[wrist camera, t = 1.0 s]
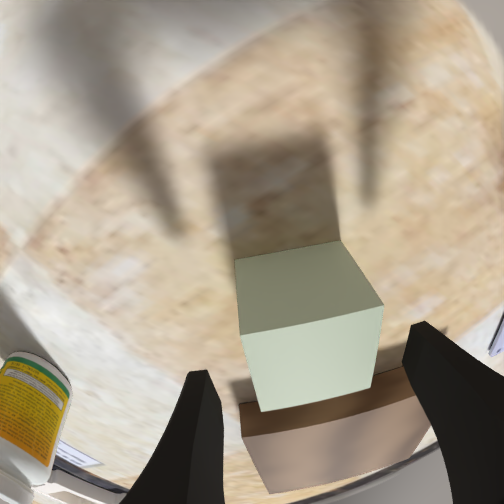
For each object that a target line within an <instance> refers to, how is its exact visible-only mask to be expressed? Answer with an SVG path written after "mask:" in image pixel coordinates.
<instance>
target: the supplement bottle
mask: <svg viewBox="0 0 504 504" xmlns="http://www.w3.org/2000/svg"><path fill="white" fill-rule="evenodd" d="M72 397H73V393H72V389H71V386H70V384H69V382H68V381H67V379H66V378H65V377H64V376H63V375H62V374H61V373H60V372H59V370H57V369H56V368H55V367H54V366H53V365H52V364H50V363H49V362H47V361H46V360H44V359H43V358H41V357H38V356H36V355H34V354H31V353H27V352H14V353H12V354H10V355H9V356H8V357H7V359H6V361H5V362H4V364H3V366H2V368H1V369H0V498H1V499H3V500H4V501H6V502H8V503H10V504H32V502H33V499H34V492H33V490H32V489H31V485H41V484H44V483H46V482H47V481H48V479H49V477H50V474H51V470H52V466H53V462H54V458H55V455H56V451H57V447H58V443H59V440H60V436H61V433H62V429H63V426H64V423H65V420H66V417H67V414H68V411H69V408H70V405H71V401H72Z"/></svg>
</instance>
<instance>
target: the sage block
mask: <svg viewBox="0 0 504 504" xmlns="http://www.w3.org/2000/svg"><path fill="white" fill-rule="evenodd" d="M235 275H236V289H237V303H238V317H239V330H240V338H241V341H242V345H243V349H244V352H245V356H246V360H247V363H248V367H249V371H250V374H251V378H252V381H253V385H254V388H255V392H256V396H257V399H258V402H259V406H260V409H261V412H264V411H271V410H276V409H282V408H288V407H293V406H298V405H303V404H308V403H312V402H317V401H321V400H326V399H330V398H334V397H338V396H342V395H346V394H350V393H353V392H357V391H361V390H364V389H368V388H370V387H371V382H372V377H373V372H374V367H375V361H376V356H377V350H378V344H379V338H380V332H381V325H382V318H383V311H384V304H383V302H382V301H381V299H380V298H379V296H378V295H377V293H376V292H375V290H374V289H373V287H372V286H371V284H370V283H369V281H368V280H367V278H366V277H365V275H364V274H363V272H362V271H361V269H360V268H359V266H358V265H357V263H356V262H355V260H354V259H353V257H352V256H351V255H350V253H349V252H348V250H347V249H346V247H345V246H344V245H343V243H342V242H341V240H340V241H334V242H329V243H323V244H318V245H313V246H307V247H302V248H296V249H291V250H285V251H280V252H274V253H269V254H264V255H258V256H253V257H247V258H242V259H236V260H235Z"/></svg>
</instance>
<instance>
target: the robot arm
mask: <svg viewBox="0 0 504 504" xmlns="http://www.w3.org/2000/svg"><path fill="white" fill-rule="evenodd" d="M502 351H504V319H503V322H502V324H501V326H500V329H499V331H498V333H497V336H496V338H495V340H494V342H493V344H492V347H491V349H490V351H489V355H490V357H493V356H495V355H497V354H499V353H501V352H502ZM402 364H403V366H404V369H405V372H406V375H407V377H408V380H409V382H410V385H411V387H412V389H413V391H414V393H415V395H416V396H417V398H418V400H419V402H420V404H421V406H422V408H423V410H424V412H425V414H426V416H427V418H428V420H429V422H430V424H431V426H432V428H433V430H434V432H435V435H436V437H437V440H438V443H439V446H440V449H441V451H442V455H443V458H444V462H445V465H446V469H447V473H448V477H449V482H450V487H451V492H452V499H453V504H504V376H502V375H500V374H499V373H497V372H495V371H494V370H492V369H491V368H489V367H488V366H486V365H485V364H483V363H481V362H480V361H479V360H477V359H476V358H474V357H473V356H471V355H470V354H469V353H467V352H466V351H465V350H463V349H462V348H461V347H459V346H458V345H457V344H455V343H454V342H453V341H451V340H450V339H449V338H447V337H446V336H445V335H443V334H442V333H441V332H439V331H438V330H437V329H436V328H434V327H433V326H432V325H430V324H429V323H427V322H426V321H423V322H419V323H416V324H413V325H411V328H410V332H409V336H408V340H407V344H406V348H405V352H404V356H403V359H402ZM223 449H224V425H223V414H222V405H221V400H220V398H219V396H218V394H217V392H216V389H215V387H214V385H213V382H212V380H211V378H210V375H209V373H208V371H207V370H199V371H191V372H189V373H188V374H187V377H186V380H185V383H184V386H183V388H182V391H181V394H180V396H179V399H178V402H177V404H176V407H175V409H174V411H173V414H172V416H171V418H170V420H169V423H168V425H167V427H166V429H165V432H164V433H163V435H162V437H161V439H160V441H159V443H158V445H157V447H156V449H155V451H154V453H153V455H152V457H151V458H150V460H149V462H148V463H147V465H146V467H145V468H144V470H143V471H142V473H141V475H140V476H139V477H138V479H137V480H136V482H135V483H134V485H133V486H132V487H131V489H130V490H129V492H128V493H127V494H126V495H125V497H124V498H123V499H122V500H121V502H120V503H119V504H225V500H224V491H223Z"/></svg>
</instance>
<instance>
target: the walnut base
mask: <svg viewBox="0 0 504 504" xmlns="http://www.w3.org/2000/svg"><path fill="white" fill-rule="evenodd" d="M239 409H240V423H241V436H242V439H243V442H244V444H245V446H246V448H247V450H248V452H249V454H250V456H251V458H252V461H253V463H254V465H255V467H256V469H257V471H258V473H259V475H260V477H261V479H262V481H263V483H264V485H265V487H266V488H267V490H268V492H269V494H274V493H281V492H287V491H293V490H299V489H304V488H309V487H314V486H319V485H323V484H328V483H332V482H336V481H340V480H344V479H347V478H351V477H354V476H358V475H361V474H365V473H368V472H371V471H374V470H377V469H380V468H383V467H386V466H389V465H392V464H395V463H397V462H400V461H403V460H405V459H408V458H410V456H411V455H412V453H413V452H414V450H415V449H416V448H417V446H418V445H419V443H420V442H421V440H422V438H423V437H424V435H425V434H426V432H427V431H428V429H429V427H430V426H431V424H430V422H429V420H428V418H427V416H426V414H425V412H424V410H423V408H422V406H421V404H420V402H419V400H418V398H417V396H416V395H415V393H414V391H413V389H412V387H411V385H410V382H409V380H408V377H407V375H406V372H405V369H404V366H403V367H400V368H397V369H394V370H390V371H387V372H384V373H381V374H377V375H374V376H373V377H372V382H371V387H370V388H368V389H364V390H361V391H357V392H353V393H350V394H346V395H342V396H338V397H334V398H330V399H326V400H321V401H317V402H312V403H308V404H303V405H298V406H293V407H288V408H282V409H276V410H271V411H264V412H261V409H260V406H259V402H258V401H257V402H251V403H244V404H239Z"/></svg>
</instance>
